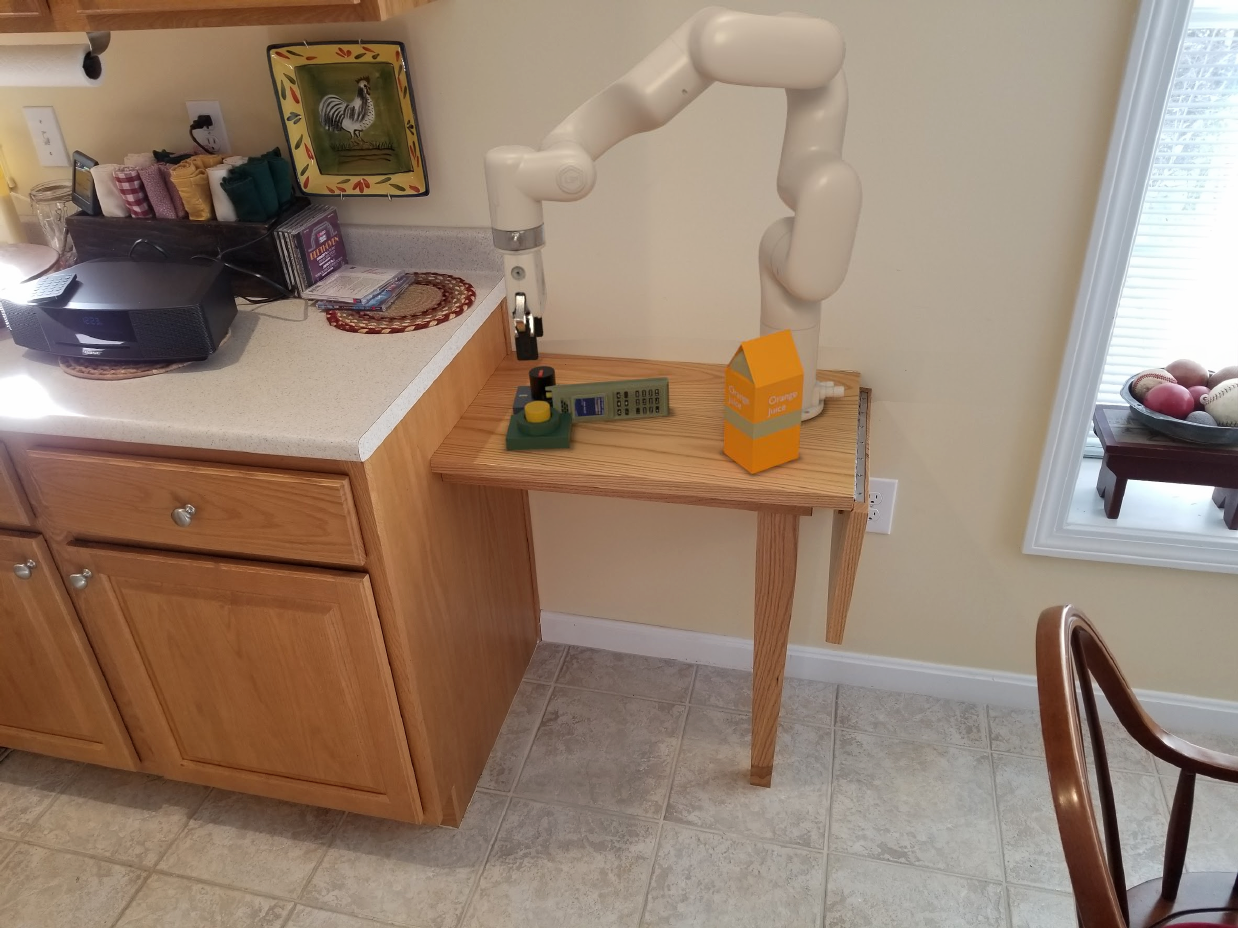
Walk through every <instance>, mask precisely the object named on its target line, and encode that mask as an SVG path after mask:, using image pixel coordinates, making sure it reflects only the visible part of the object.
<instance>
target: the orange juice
mask: <svg viewBox="0 0 1238 928" xmlns="http://www.w3.org/2000/svg"><path fill="white" fill-rule="evenodd" d="M724 372H725V373H724V404H723V421H724V423H723V432H724V433H723V453H724V454H725V455H726V456H727V457H729V458H730V459H731V460H733V461H734V462H735V463H737V464H738V465H740V466H741V467H742V468H743V469H744V470H746V471H747V472H748V473H750V474H751V475H754V474H757V473H759V472H762V471H766V470H767V469H771V468H773V467H776V466H779V465H782V464H786V463H788V462H791V461H794V460H796V459H799V457H800V456H799V455H800V440H801V439H800V438H801V425H802V421H801V418H802V397H803V382H804V371H803V368H802V365H801V362H800V359H799V356H798V353H797V350H796V347H795V343H794V340H793V337H792V334H791V331H790V329H787V330H784V331H780V332H777V333H773V334H770V335H766V336H762V337H760V336H759V337H755V338H752V339H749V340H748V339H747V340H745V341H741V342H740V345H739V347H738V348H737V350H736V351H735V353H734V354H733V356H732V358H731V360H730V361H729V363H728V364H727V365H726V367H725V368H724Z"/></svg>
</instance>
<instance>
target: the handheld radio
mask: <svg viewBox="0 0 1238 928" xmlns="http://www.w3.org/2000/svg"><path fill="white" fill-rule="evenodd" d="M669 382H670V380H669V378H668V376H661V377H659V376H658V377H647V378H646V377H645V378H635V379H621V380H607V381H595V382H582V383H581V382H579V383H568V384H567V383H566V384H567V385H564V384H556V385H554V386H549V387H546V388H545V390H551V391H552V392H551V393H549V392H548V393H546V397H547V398H549V397H550V398H552V400H553V401H551V402H547V403H548V404H549V405H550V407H553V408H555V409H556V410H558V411H559V412H560V413H571V416H572V424H576V423H577V424H579V423H591V422H603V421H616V420H628V419H629V420H630V419H640V418H652V417H653V418H654V417H668V416H670V386H669ZM551 404H552V405H551Z"/></svg>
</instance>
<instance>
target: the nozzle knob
mask: <svg viewBox="0 0 1238 928" xmlns="http://www.w3.org/2000/svg"><path fill="white" fill-rule="evenodd" d="M528 378H529V386H530V389H531V397H532V398H533V399H534V400H538V401H547V400H551V399H552V398H550V397H549V398H547V397H546V393H548V392H549V393H551V392H552V391H551V390H545V388H546V387H549V386H554V385H557V379H556V370H555V369H554V367H552V366H550V365H549V366H548V365H539V366H534V367H532V368H531V369H529V371H528Z"/></svg>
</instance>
